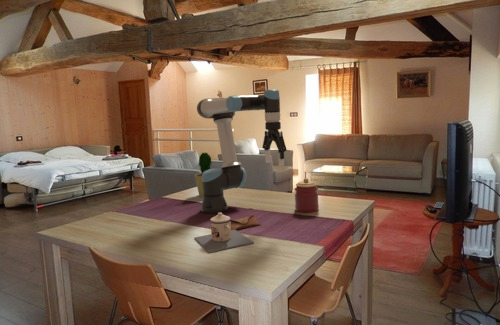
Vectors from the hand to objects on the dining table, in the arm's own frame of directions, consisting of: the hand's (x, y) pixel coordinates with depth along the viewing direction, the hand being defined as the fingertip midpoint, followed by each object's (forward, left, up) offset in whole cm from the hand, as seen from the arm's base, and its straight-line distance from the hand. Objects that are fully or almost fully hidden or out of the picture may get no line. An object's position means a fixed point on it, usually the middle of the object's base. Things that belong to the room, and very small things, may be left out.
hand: (274, 164), depth 188 cm
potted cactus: (-76, -11, -29) cm, 82 cm away
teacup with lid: (+14, -35, -28) cm, 47 cm away
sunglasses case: (0, -19, -29) cm, 35 cm away
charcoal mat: (+14, -35, -29) cm, 47 cm away
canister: (-7, +23, -29) cm, 38 cm away
